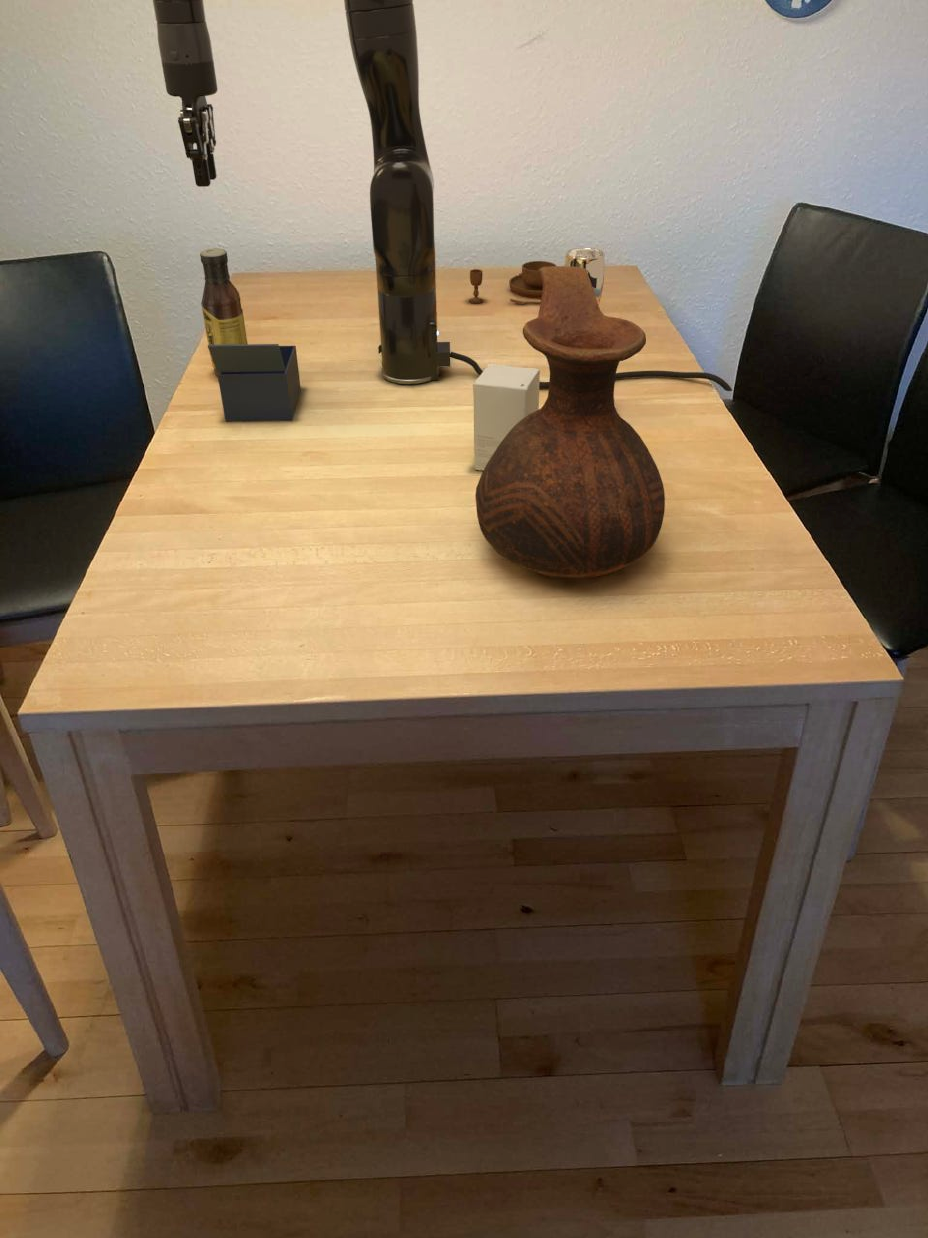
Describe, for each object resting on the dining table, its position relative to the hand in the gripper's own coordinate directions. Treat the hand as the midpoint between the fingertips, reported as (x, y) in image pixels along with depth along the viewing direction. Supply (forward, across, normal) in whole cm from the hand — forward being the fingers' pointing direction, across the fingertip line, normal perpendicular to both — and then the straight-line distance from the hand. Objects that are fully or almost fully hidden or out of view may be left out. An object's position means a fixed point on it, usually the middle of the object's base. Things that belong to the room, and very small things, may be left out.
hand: (206, 181), depth 148 cm
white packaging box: (+27, -45, -46) cm, 70 cm away
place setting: (+27, +30, -53) cm, 67 cm away
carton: (+27, -24, -9) cm, 38 cm away
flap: (+17, -31, -9) cm, 37 cm away
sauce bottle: (+27, -12, -2) cm, 30 cm away
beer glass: (+27, +2, -62) cm, 67 cm away
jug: (+27, -68, -52) cm, 90 cm away
